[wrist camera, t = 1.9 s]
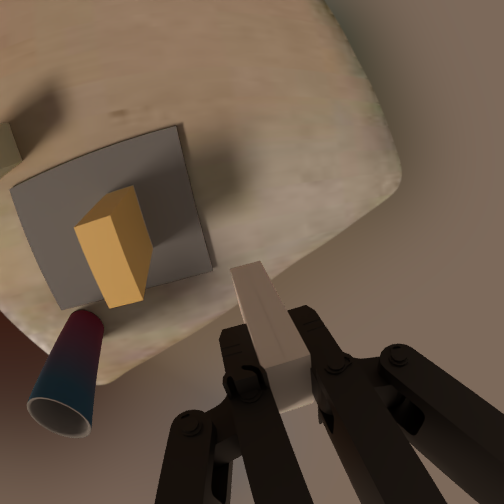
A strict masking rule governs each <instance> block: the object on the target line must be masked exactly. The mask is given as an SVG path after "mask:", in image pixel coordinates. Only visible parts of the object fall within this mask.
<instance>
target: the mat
mask: <svg viewBox="0 0 504 504" xmlns="http://www.w3.org/2000/svg"><path fill="white" fill-rule="evenodd" d="M132 185H133V186H134V189H135V193H136V196H137V199H138V202H139V206H140V209H141V212H142V215H143V219H144V222H145V225H146V228H147V231H148V234H149V237H150V240H151V243H152V246H153V251H152V256H151V261H150V266H149V271H148V276H147V282H146V287H145V289H146V288H150V287H154V286H158V285H162V284H165V283H169V282H173V281H177V280H181V279H184V278H188V277H192V276H196V275H200V274H203V273H207V272H211V271H213V268H212V265H211V261H210V257H209V254H208V250H207V247H206V243H205V239H204V236H203V232H202V228H201V224H200V221H199V217H198V213H197V209H196V205H195V201H194V197H193V194H192V190H191V186H190V182H189V178H188V173H187V169H186V165H185V161H184V157H183V153H182V149H181V144H180V140H179V136H178V131H177V127H176V126H174V127H170V128H166V129H163V130H159V131H155V132H152V133H149V134H145V135H142V136H139V137H136V138H132V139H129V140H126V141H123V142H120V143H117V144H114V145H111V146H109V147H106V148H103V149H100V150H97V151H95V152H92V153H89V154H87V155H84V156H82V157H79V158H77V159H74V160H72V161H69V162H67V163H64V164H62V165H60V166H57V167H55V168H53V169H51V170H48V171H46V172H44V173H42V174H39V175H37V176H35V177H33V178H31V179H29V180H27V181H25V182H23V183H21V184H19V185H17V186H15V187H13V188H11V189H9V190H10V193H11V196H12V199H13V202H14V205H15V208H16V211H17V214H18V216H19V219H20V222H21V225H22V227H23V230H24V232H25V235H26V237H27V240H28V242H29V245H30V247H31V249H32V252H33V254H34V256H35V259H36V261H37V263H38V265H39V267H40V270H41V272H42V274H43V276H44V278H45V280H46V282H47V284H48V286H49V288H50V290H51V292H52V294H53V296H54V298H55V299H56V301H57V303H58V305H59V307H60V309H61V310H64V309H68V308H72V307H76V306H80V305H84V304H88V303H92V302H96V301H100V300H104V297H103V295H102V293H101V290H100V288H99V286H98V284H97V282H96V280H95V278H94V275H93V273H92V271H91V269H90V266H89V264H88V262H87V259H86V257H85V255H84V252H83V250H82V247H81V245H80V242H79V240H78V237H77V235H76V232H75V229H74V227H75V226H76V225H77V224H78V222H79V221H80V220H81V219H82V218H83V217H84V216H85V215H86V214H87V213H88V212H89V211H90V210H91V209H92V208H93V207H94V206H95V205H96V204H97V203H98V202H99V201H100V200H101V199H102V198H103V197H104V196H105V195H106V194H107V193H110V192H113V191H116V190H119V189H122V188H125V187H128V186H132Z"/></svg>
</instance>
